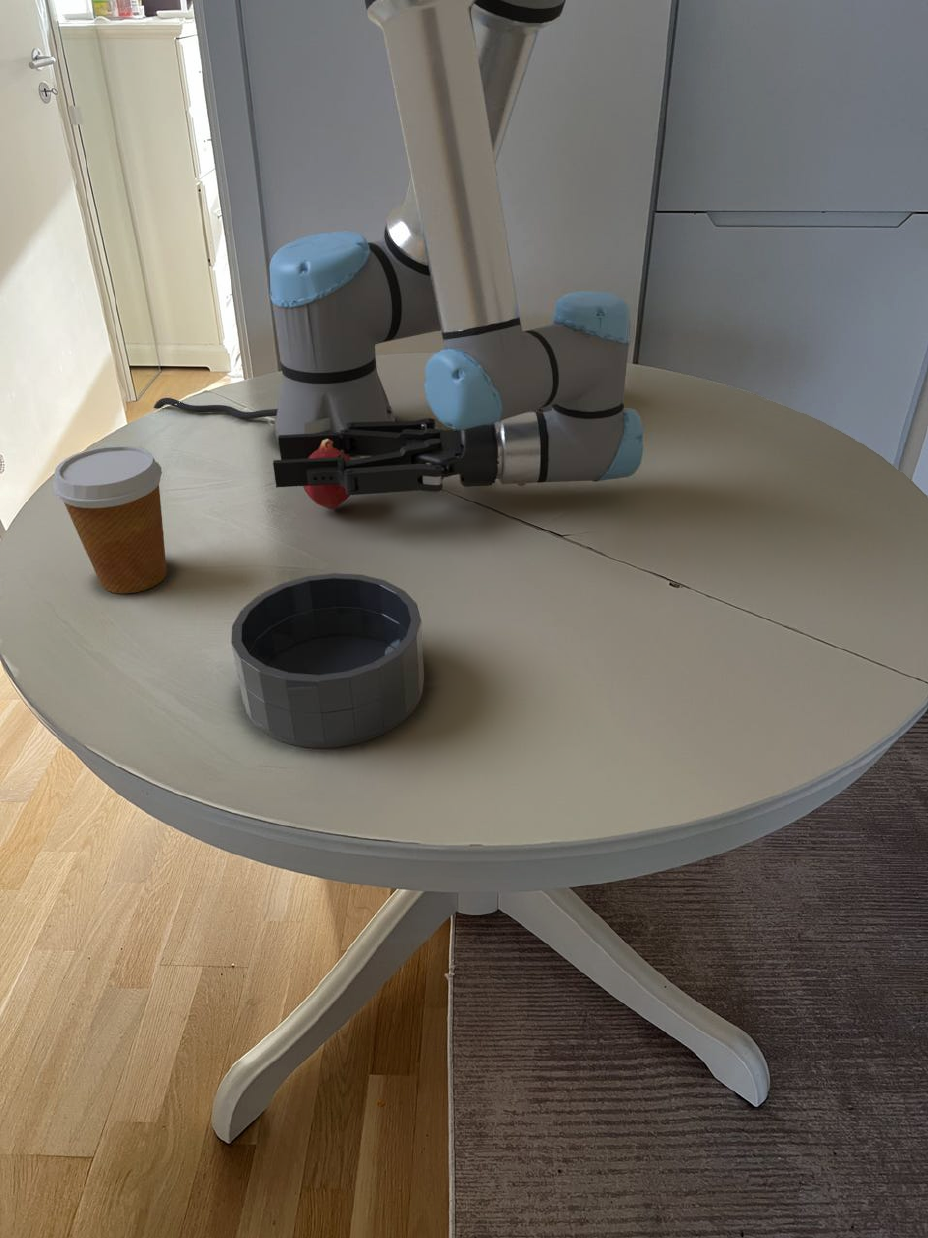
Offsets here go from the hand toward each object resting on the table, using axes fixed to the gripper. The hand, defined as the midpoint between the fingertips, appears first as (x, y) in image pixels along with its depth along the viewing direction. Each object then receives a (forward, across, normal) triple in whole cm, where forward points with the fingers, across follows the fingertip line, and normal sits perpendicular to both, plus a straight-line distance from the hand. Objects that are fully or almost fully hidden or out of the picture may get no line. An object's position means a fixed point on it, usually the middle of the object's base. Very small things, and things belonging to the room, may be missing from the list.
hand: (277, 460), depth 97 cm
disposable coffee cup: (+14, -12, -6) cm, 19 cm away
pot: (-6, -31, -6) cm, 32 cm away
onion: (-5, 0, -6) cm, 8 cm away
